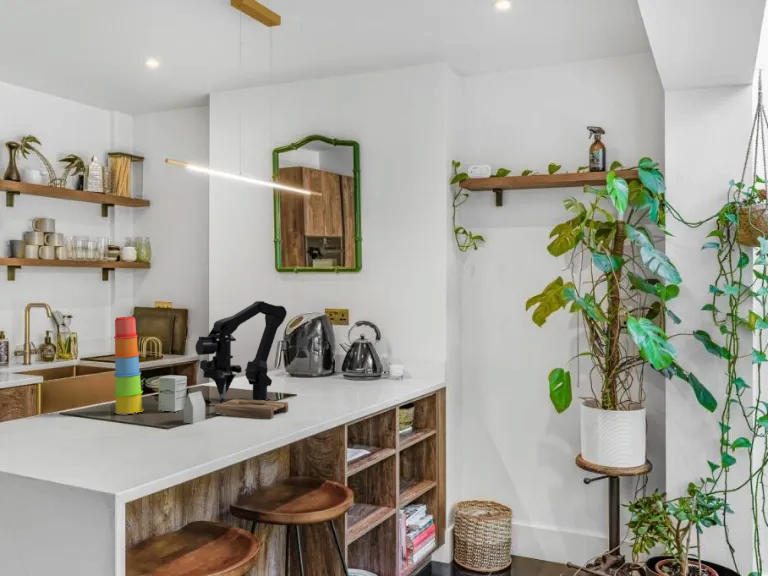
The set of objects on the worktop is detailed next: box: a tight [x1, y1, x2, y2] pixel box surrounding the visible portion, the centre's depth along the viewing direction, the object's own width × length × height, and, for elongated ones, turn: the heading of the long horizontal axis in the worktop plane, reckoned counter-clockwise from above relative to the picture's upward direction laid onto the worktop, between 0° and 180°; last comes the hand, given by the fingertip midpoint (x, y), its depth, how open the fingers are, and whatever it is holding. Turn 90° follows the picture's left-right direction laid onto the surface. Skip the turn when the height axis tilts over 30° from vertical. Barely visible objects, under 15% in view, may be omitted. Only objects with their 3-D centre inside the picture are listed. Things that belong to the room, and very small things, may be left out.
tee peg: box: [216, 383, 227, 405], centre depth 262 cm, size 5×5×10 cm
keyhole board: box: [214, 398, 289, 420], centre depth 248 cm, size 14×22×4 cm, turn 73°
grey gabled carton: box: [183, 390, 206, 425], centre depth 232 cm, size 4×7×10 cm, turn 159°
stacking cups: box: [113, 316, 145, 413], centre depth 247 cm, size 10×10×35 cm
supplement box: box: [158, 374, 188, 412], centre depth 252 cm, size 7×7×13 cm
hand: (222, 393), depth 262 cm, fingers open, 3 cm apart
